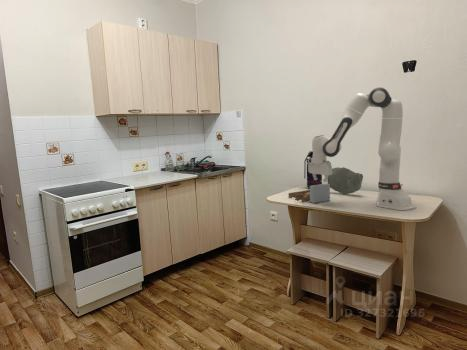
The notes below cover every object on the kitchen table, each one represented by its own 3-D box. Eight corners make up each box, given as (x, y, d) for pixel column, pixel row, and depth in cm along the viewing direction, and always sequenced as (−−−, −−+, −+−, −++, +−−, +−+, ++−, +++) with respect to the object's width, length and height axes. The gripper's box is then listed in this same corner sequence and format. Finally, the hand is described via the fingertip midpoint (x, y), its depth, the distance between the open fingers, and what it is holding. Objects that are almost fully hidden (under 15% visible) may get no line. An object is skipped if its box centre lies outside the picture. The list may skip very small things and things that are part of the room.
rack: (325, 198, 228) (325, 193, 228) (303, 202, 220) (302, 197, 220) (310, 194, 243) (310, 189, 243) (288, 197, 235) (288, 193, 235)
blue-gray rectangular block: (329, 200, 221) (329, 184, 219) (313, 203, 215) (313, 186, 214) (326, 199, 224) (326, 183, 223) (309, 202, 218) (309, 185, 217)
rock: (364, 196, 230) (365, 167, 227) (361, 197, 225) (361, 168, 222) (330, 191, 249) (330, 165, 246) (326, 193, 244) (325, 166, 241)
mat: (330, 201, 219) (330, 200, 219) (315, 203, 214) (315, 203, 214) (323, 199, 226) (323, 198, 226) (308, 201, 220) (308, 201, 220)
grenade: (320, 186, 271) (320, 150, 266) (323, 189, 259) (322, 151, 255) (303, 187, 272) (303, 151, 268) (305, 189, 261) (304, 152, 256)
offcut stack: (317, 198, 228) (316, 192, 228) (305, 200, 224) (305, 194, 224) (313, 197, 232) (313, 191, 231) (301, 199, 228) (301, 193, 227)
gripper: (334, 160, 208) (335, 181, 210) (313, 158, 226) (314, 178, 228) (326, 161, 205) (327, 183, 207) (306, 159, 224) (307, 179, 225)
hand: (320, 180), depth 218 cm, fingers open, 8 cm apart
